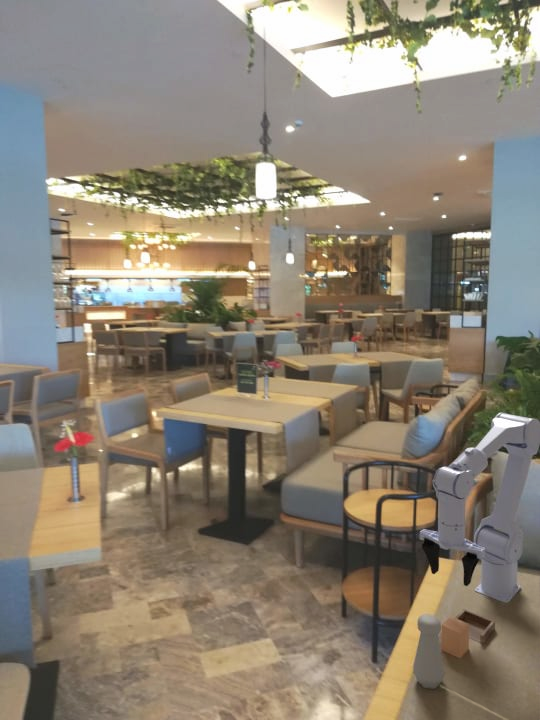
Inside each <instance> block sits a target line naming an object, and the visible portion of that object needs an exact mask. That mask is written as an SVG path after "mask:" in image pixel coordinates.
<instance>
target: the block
mask: <svg viewBox="0 0 540 720" xmlns="http://www.w3.org/2000/svg"><path fill="white" fill-rule="evenodd" d="M469 648H470V638H469V624H468V623H466V622H463V621H461V620H459V619H456V618H455V617H454V616H451V615H450V616H449V617H448V618H447V619H446V620H445V621H444V622H443V623H442V624H441V651H443V652H446V653H447V654H450V655H451V656H453V657H456V658H457V659H462V658H463V657H464V655H465V654H466V652H467V651H469Z"/></svg>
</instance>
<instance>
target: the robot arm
mask: <svg viewBox="0 0 540 720" xmlns="http://www.w3.org/2000/svg"><path fill="white" fill-rule="evenodd" d="M503 447H504V448H505V449H506V450H507V453H508V456H507V460H506V464H505V467H504V472H503V474H502V478H501V481H500V482H501V483H500V486H499V489H498V493H497V497H496V500H495V504H494V508H493V512H492V514H491V515H489V516H487V517H484V518H482V519H481V521H480V524H479V526H478V528H477V529H476V531H475V533H474V535H473V536H474V537H473V542H472V541H471V540H469V539H467V538H466V497H467V496H468V495H470V492H471V490H472V487H473V485H474V484H475V479H476V478H477V477H479V475H480V474H481V473H482V472H483V471H484V470H485V469H486V468H487V467H488V465H489V461H488V459H489V458H490V457H491V456H493V455H494V454H495V453H496V452H497V451H498V450H500V449H501V448H503ZM539 448H540V421H539V419H537V418H534V417H533V418H529V417H525V416H519V415H515V414H509V413H506V412H499V413H497V414H496V415H495V416H494V418H493V419H492V420H491V423H490V429H489V431H488V432H487V433H486V434H485V436H484V437H483V438H482V439H481V440H480V442H479V443H478V444H477V445H476V447H467V448H465V450H463V452H462V453H461V454H459V456H458V457H457V458H456V459H455V460H453V462H451V463H450V464H449V465H448V466H442V467H439V468H438V469H437V470H436V471H435V473H434V475H433V479H432V486H433V488H434V490H435V497H436V498H437V500H438V501H437V504H438V505H437V506H438V507H437V508H438V510H437V511H438V513H437V514H438V516H437V519H438V520H437V530H436V531H435V530H429V529H425V528H423V529H422V530H420V531H419V540H421V541H423V543H422V544H421V549H422V550H423V552H424V554H425V555H426V558H427V560H428V564H429V568H430V571H431V572H430V573H431V574H432V575H435V574H436V573H439V569H440V551H441V549H443V550H445V551H446V550H448V551H449V550H456V551H459V552H463V553H465V555H464V556H463V557H461V563H462V568H463V586H465V587H468V586H469V585H470V584H471V582H472V578H473V574H474V571H475V569H476V567H477V565H478V563H479V562H480V560H481V563H480V564H481V567H480V568H481V569H480V570H481V572H480V573H481V574H480V577H481V578H480V583H479V584H478V586H476V587H475V588H474V592H476V593H479V594H481V595H484V596H487V597H489V598H490V599H491V598H492V599H494V600H497V601H500V602H503V603H505V604H509V602H510V601H511V600H512V598H513V597H514V596H516V594H517V593H518V592H519V590H521V588H522V586H521V584H518V566H519V565H518V561H519V560H520V558H521V556H522V553H523V547H524V546H523V542H524V541H523V540H524V537H525V536H524V533H523V531H522V530H521V528H520V527H519V525H518V524H517V523H516V519H517V514H518V511H519V508H520V504H521V502H522V501H521V500H522V497H523V493H524V489H525V485H526V482H527V478H528V475H529V470H530V466H531V463H532V459H533V456H535V455H537V454H538V451H539ZM498 529H499V530H498ZM503 531H504V532H503Z"/></svg>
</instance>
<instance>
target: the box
mask: <svg viewBox="0 0 540 720" xmlns="http://www.w3.org/2000/svg"><path fill="white" fill-rule="evenodd" d="M454 618H456V619H459V620H461V621H463V622H466V623H468V624H469V640H470V639H471V640H473V641H475V642H478V643H480V644H484V643H485V642H486V641H487V639H488V638H489V637H490V636H491V635H492V633H493V632H494V631H495V627H496V621H495V620H492V619H490V618H488V617H486V616H482V615H480V614H477V613H474V612H472V611H470V610H467V609H465V608H463V609H462V610H461V611H460V612H459V613H458V614H457V615H456V616H455V617H454Z"/></svg>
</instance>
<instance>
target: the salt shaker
mask: <svg viewBox="0 0 540 720" xmlns="http://www.w3.org/2000/svg"><path fill="white" fill-rule="evenodd" d="M416 623H417V630H418V631H419V633H420V634H419V638H418V643H417V647H416V652H415V655H414V661H413V665H412V667H413V668H412V669H413V674H414V676H415V678H416V681H417V682H418V684H420V685H421V686H422V687H423V688H425V689H431V690H436V688H437V687H439V686H440V685H441V684H442V681H444V680H443V679H444V678H445V675H446V672H445V667H444V661H443V656H442V648H441V643H440V638H439V635H440V633H441V632H442V624H441V620H440V619H439V618H438V617H437V616H436V615H434V614H430V613H423V614H421V615H420V616H419V617H418V618H417V622H416Z"/></svg>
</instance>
